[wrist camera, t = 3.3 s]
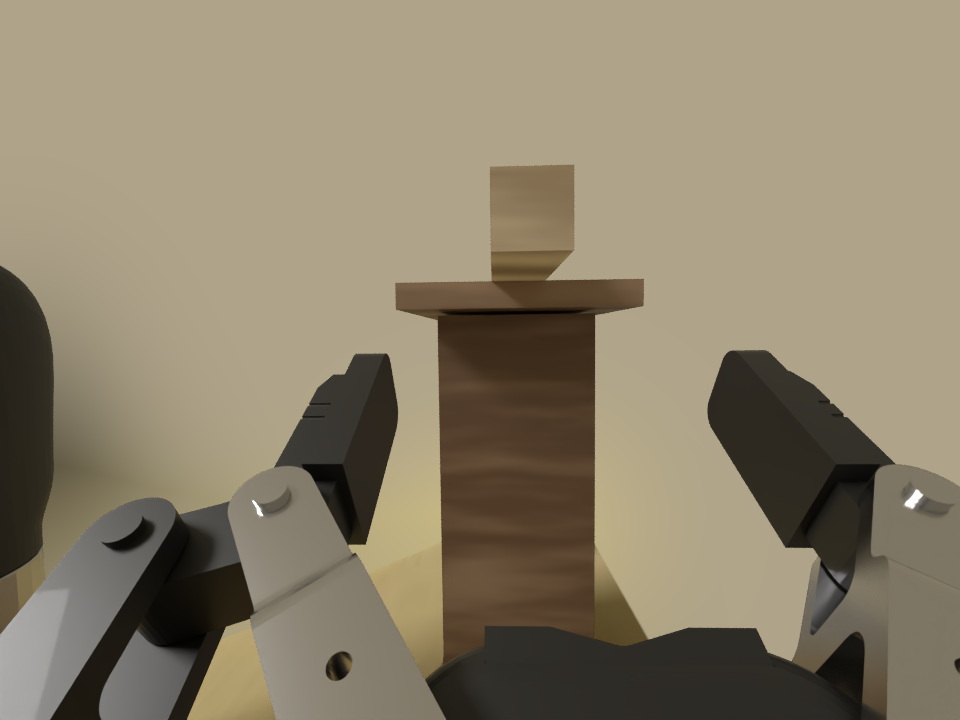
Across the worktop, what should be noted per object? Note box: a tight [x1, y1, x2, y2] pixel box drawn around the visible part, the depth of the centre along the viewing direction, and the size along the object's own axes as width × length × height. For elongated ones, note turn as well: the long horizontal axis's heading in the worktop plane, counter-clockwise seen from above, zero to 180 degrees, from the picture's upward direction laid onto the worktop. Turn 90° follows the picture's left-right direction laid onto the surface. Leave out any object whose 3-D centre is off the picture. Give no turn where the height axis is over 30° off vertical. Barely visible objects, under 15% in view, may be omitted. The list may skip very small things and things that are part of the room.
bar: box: [490, 165, 574, 281], centre depth 36 cm, size 40×3×3 cm, turn 178°
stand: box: [395, 279, 644, 665], centre depth 35 cm, size 20×14×32 cm
